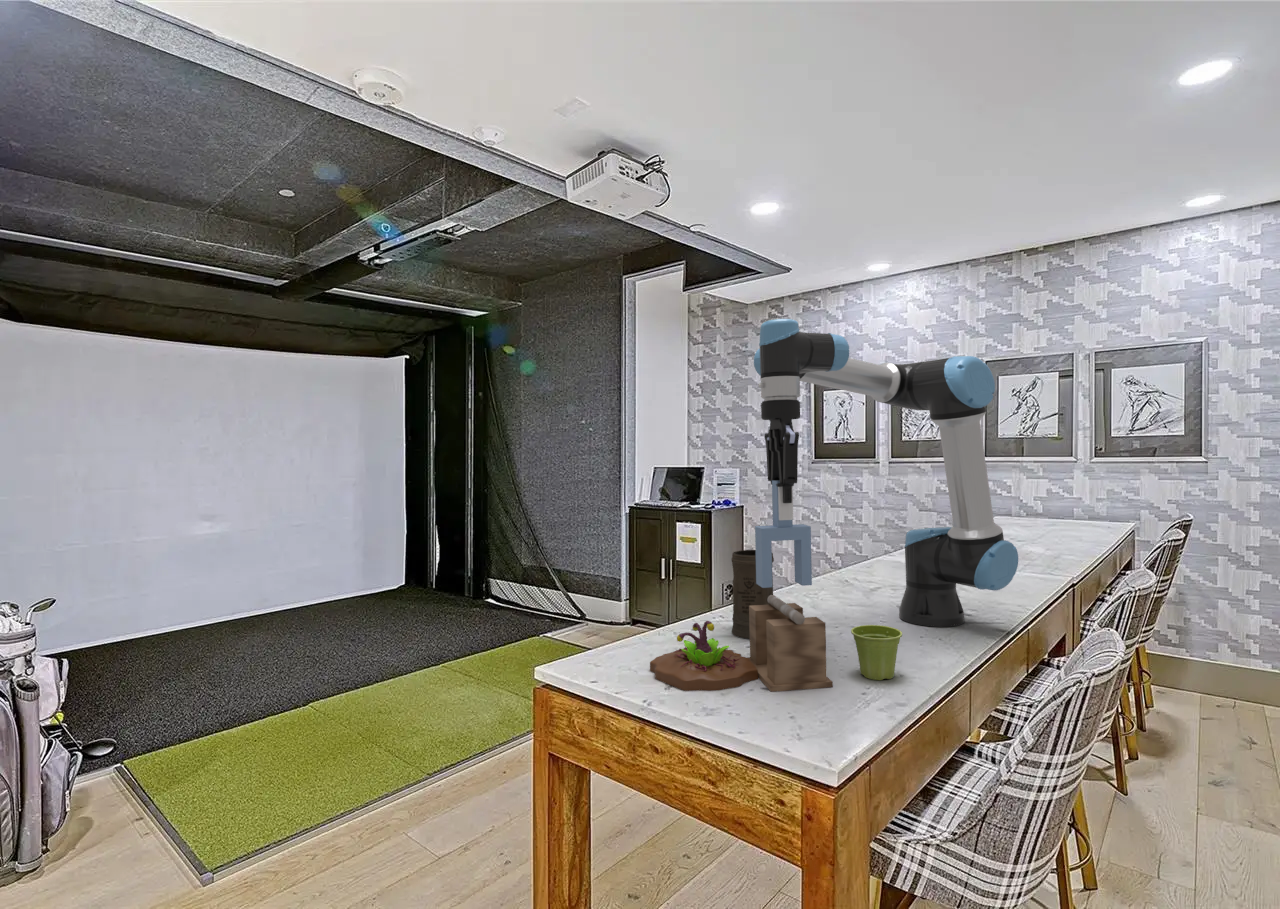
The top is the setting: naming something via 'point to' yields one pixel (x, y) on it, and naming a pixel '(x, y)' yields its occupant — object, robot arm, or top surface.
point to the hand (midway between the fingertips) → (782, 518)
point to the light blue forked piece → (780, 533)
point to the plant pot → (877, 650)
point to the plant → (703, 664)
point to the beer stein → (746, 590)
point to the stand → (787, 646)
